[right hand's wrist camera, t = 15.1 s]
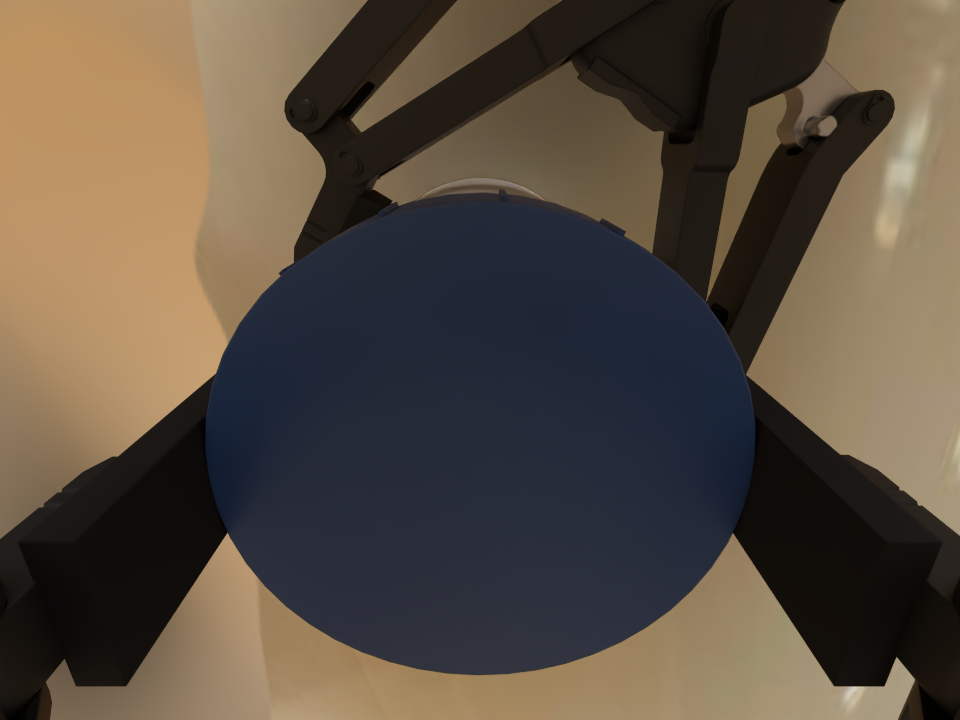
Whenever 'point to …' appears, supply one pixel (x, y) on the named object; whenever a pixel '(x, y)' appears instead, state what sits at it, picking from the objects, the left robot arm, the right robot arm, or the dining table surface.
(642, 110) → the left robot arm
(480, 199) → the lid
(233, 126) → the dining table surface
